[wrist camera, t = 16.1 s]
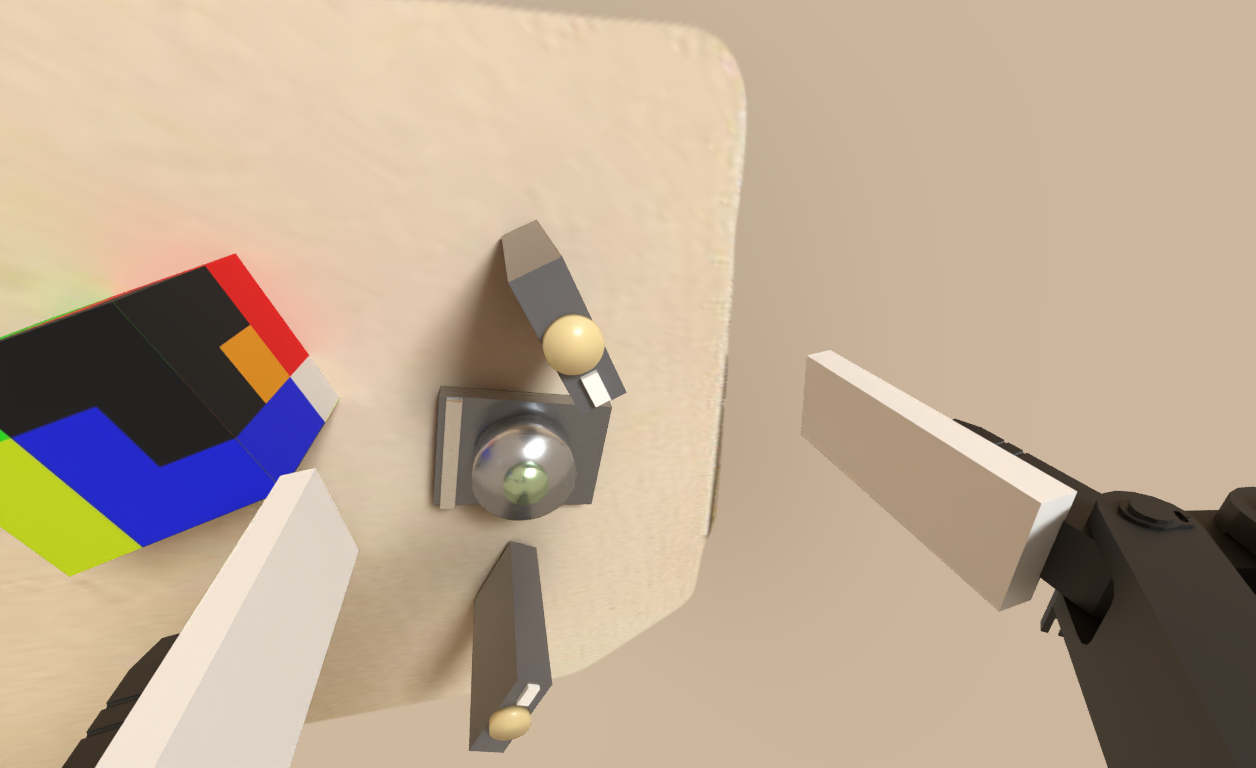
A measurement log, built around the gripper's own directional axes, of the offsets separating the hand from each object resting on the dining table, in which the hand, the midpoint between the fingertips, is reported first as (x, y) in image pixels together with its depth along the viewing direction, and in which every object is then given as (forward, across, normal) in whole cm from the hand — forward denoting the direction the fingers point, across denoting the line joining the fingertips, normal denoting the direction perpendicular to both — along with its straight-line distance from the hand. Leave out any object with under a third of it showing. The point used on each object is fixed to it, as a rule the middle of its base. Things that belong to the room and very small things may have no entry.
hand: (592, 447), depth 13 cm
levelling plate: (+21, -3, -13) cm, 25 cm away
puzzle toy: (+21, -20, -2) cm, 29 cm away
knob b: (+21, +1, 0) cm, 21 cm away
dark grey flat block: (+21, -7, -25) cm, 33 cm away
